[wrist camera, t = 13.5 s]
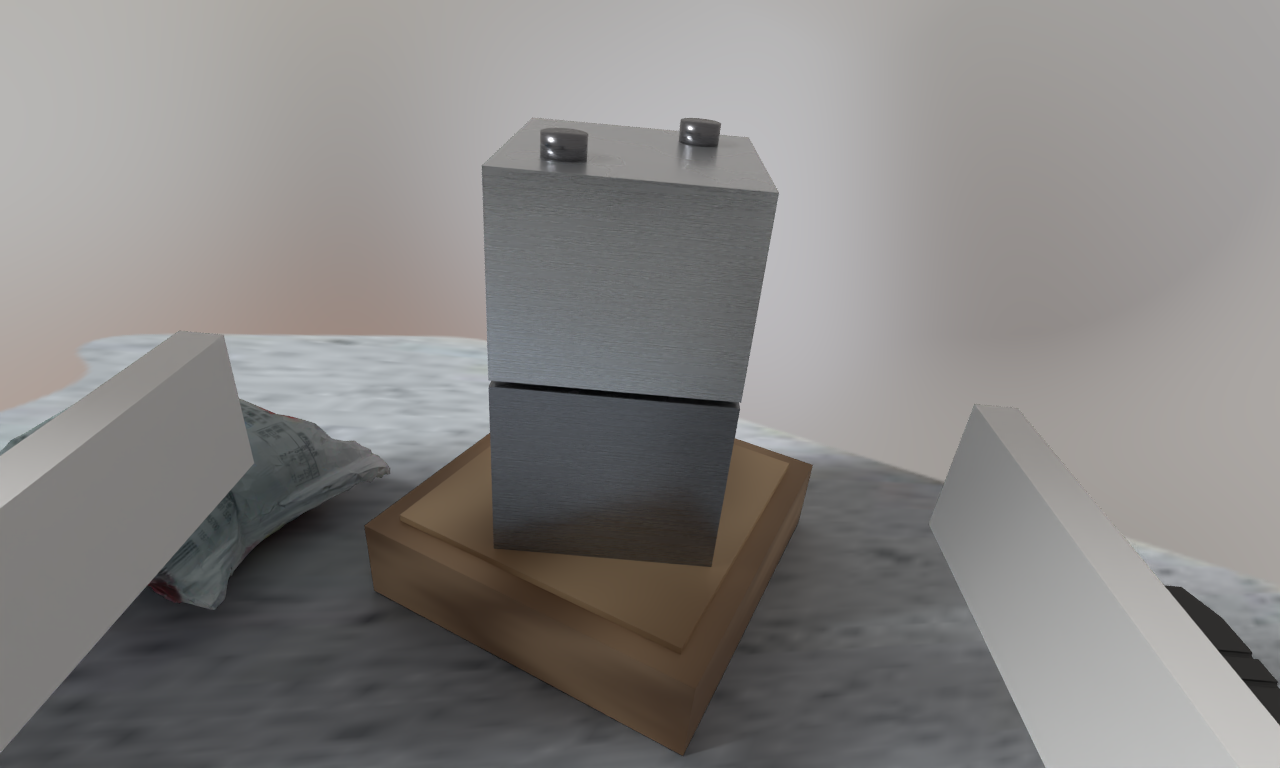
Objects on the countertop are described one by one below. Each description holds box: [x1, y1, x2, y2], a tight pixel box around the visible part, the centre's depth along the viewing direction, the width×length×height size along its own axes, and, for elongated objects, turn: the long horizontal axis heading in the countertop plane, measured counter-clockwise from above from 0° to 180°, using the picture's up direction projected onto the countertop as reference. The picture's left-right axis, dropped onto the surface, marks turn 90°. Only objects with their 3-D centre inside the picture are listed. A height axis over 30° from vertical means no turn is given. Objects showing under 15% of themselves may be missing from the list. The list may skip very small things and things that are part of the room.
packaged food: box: [0, 399, 390, 610], centre depth 26 cm, size 9×12×5 cm
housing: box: [482, 118, 779, 567], centre depth 22 cm, size 7×7×13 cm
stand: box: [364, 433, 813, 756], centre depth 26 cm, size 12×12×3 cm
